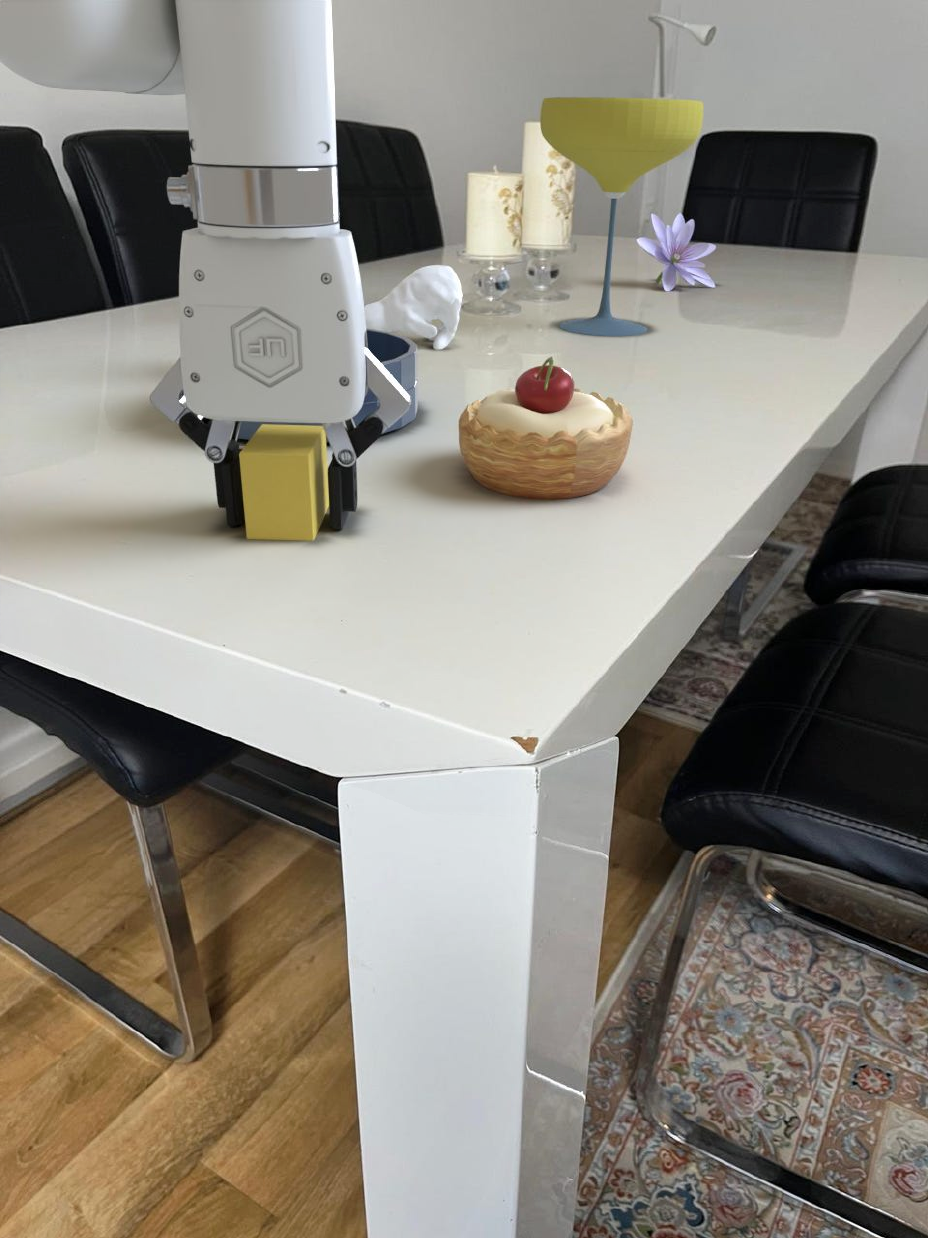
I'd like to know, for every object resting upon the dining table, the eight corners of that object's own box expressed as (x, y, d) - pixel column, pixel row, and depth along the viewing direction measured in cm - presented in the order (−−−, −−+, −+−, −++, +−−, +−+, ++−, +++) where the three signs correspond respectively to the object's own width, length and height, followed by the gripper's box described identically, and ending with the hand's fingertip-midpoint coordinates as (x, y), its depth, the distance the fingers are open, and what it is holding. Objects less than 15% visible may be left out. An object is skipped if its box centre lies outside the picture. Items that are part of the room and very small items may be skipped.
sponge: (246, 542, 57) (238, 453, 55) (268, 506, 62) (261, 423, 60) (313, 544, 57) (308, 455, 55) (329, 508, 62) (325, 425, 60)
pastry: (602, 452, 74) (613, 334, 70) (646, 506, 64) (661, 371, 60) (448, 455, 73) (449, 334, 69) (467, 511, 62) (470, 373, 58)
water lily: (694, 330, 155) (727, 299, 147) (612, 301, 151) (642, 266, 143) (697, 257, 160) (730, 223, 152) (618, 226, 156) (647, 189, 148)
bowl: (169, 447, 73) (159, 368, 70) (228, 388, 89) (222, 322, 87) (407, 454, 73) (407, 374, 70) (423, 394, 89) (423, 327, 86)
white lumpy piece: (463, 267, 102) (350, 278, 101) (469, 349, 106) (360, 360, 105) (455, 259, 107) (348, 270, 106) (461, 337, 111) (358, 348, 110)
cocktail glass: (682, 347, 110) (713, 99, 98) (525, 340, 112) (537, 95, 100) (671, 319, 126) (696, 103, 114) (534, 313, 128) (545, 99, 116)
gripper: (81, 204, 48) (131, 539, 56) (424, 212, 48) (423, 548, 56) (131, 194, 55) (170, 495, 63) (432, 201, 54) (431, 502, 63)
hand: (289, 517), depth 60 cm, fingers open, 5 cm apart
